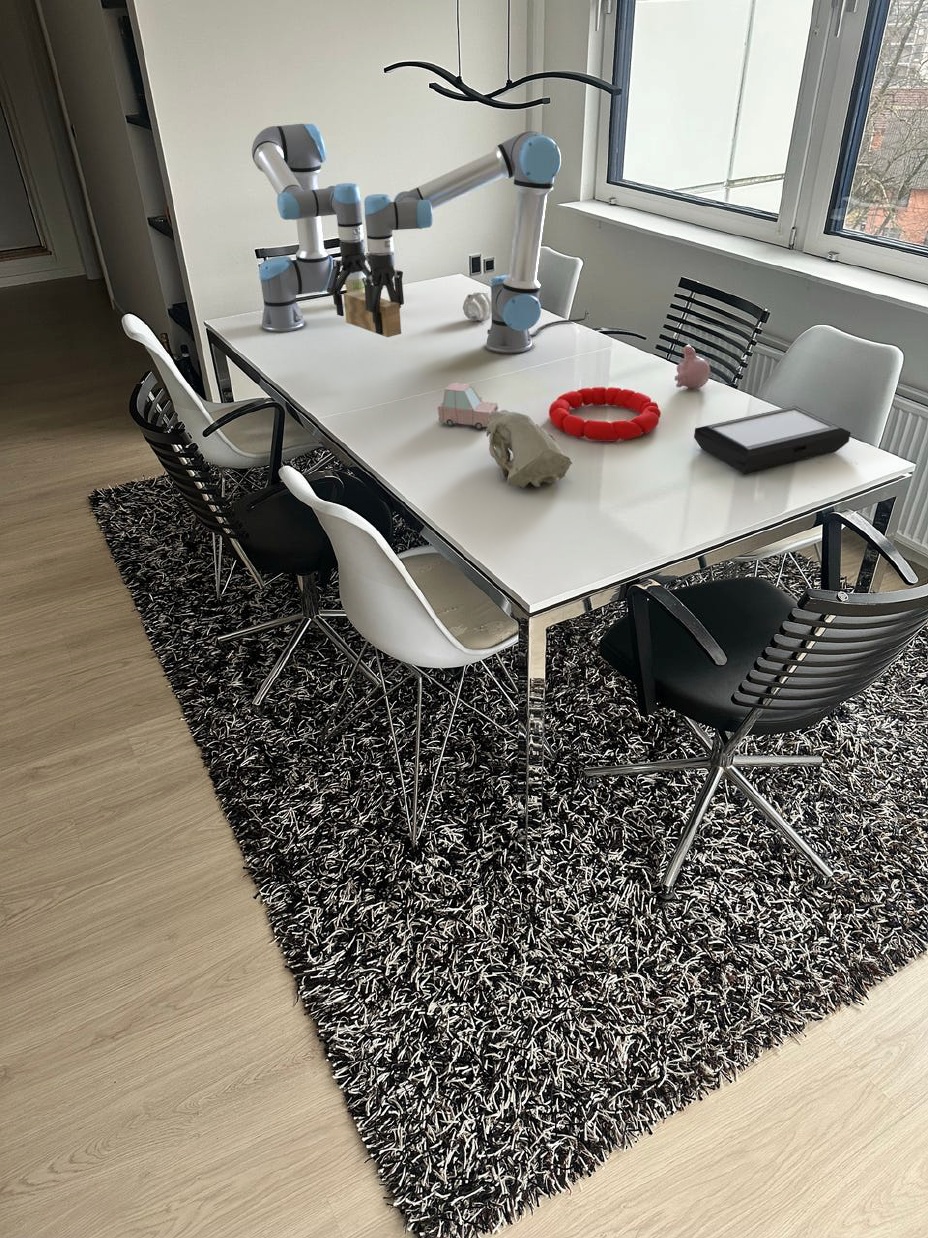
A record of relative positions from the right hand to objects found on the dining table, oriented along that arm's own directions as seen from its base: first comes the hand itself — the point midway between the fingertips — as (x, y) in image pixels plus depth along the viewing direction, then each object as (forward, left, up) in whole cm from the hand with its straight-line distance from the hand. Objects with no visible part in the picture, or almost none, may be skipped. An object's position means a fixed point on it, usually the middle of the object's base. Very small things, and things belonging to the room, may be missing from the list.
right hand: (387, 331), depth 276 cm
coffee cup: (-21, -78, -12) cm, 82 cm away
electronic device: (-56, +108, -12) cm, 122 cm away
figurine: (-69, +63, -12) cm, 94 cm away
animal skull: (+3, +85, -12) cm, 86 cm away
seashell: (-50, -32, -12) cm, 61 cm away
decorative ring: (-32, +70, -12) cm, 79 cm away
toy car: (0, +51, -12) cm, 53 cm away
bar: (+2, -7, 0) cm, 8 cm away
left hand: (+3, -15, +3) cm, 15 cm away
